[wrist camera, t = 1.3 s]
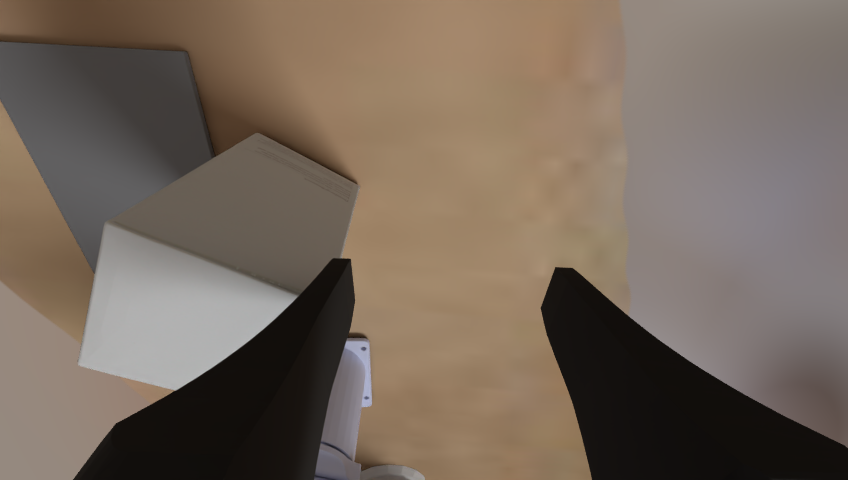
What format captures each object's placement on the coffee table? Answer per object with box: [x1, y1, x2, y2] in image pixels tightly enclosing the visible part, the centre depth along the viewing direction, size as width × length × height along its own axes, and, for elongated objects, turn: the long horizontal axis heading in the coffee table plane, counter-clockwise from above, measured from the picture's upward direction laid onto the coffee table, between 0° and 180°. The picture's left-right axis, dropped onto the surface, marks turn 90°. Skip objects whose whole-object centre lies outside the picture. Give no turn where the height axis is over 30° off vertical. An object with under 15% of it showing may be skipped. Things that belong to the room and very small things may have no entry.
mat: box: [0, 42, 215, 274], centre depth 22 cm, size 18×11×1 cm, turn 177°
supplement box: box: [78, 133, 360, 390], centre depth 18 cm, size 7×7×13 cm
